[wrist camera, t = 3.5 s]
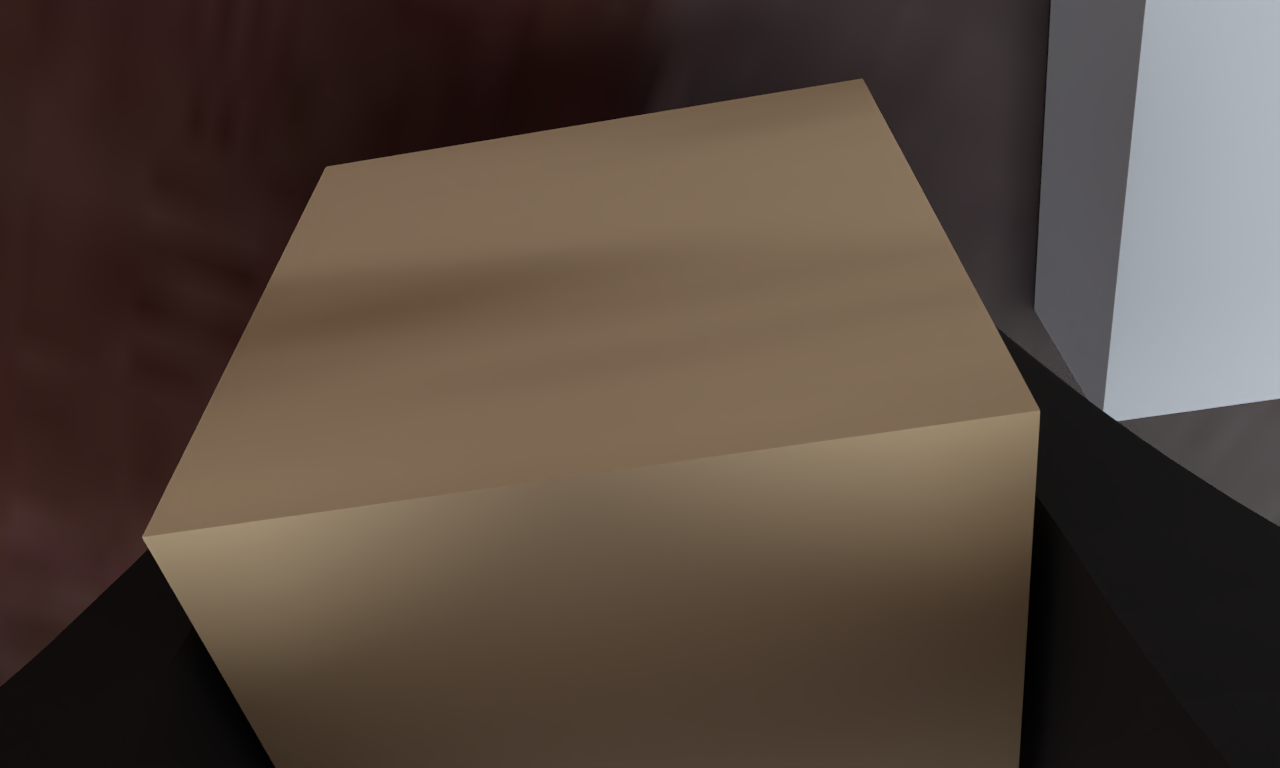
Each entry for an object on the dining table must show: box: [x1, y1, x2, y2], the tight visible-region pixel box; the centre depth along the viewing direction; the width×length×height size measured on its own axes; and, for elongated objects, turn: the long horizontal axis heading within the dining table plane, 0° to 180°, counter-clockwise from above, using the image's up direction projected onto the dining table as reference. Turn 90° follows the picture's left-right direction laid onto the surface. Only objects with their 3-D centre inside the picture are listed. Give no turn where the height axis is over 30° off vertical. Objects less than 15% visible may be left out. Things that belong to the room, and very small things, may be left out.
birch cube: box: [142, 78, 1040, 768], centre depth 10 cm, size 5×5×5 cm
